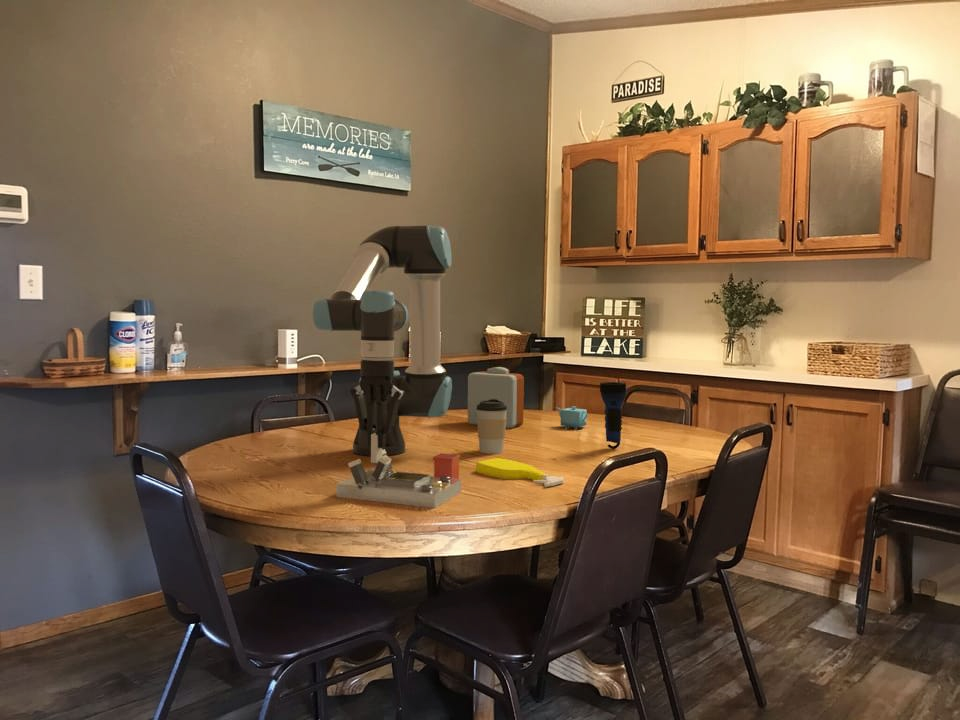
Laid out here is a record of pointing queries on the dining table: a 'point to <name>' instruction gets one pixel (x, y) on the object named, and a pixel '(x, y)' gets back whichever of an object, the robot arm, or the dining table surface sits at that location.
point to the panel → (401, 489)
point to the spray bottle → (515, 471)
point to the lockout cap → (446, 465)
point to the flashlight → (613, 410)
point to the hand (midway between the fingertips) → (376, 461)
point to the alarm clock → (497, 393)
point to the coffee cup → (491, 426)
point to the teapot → (573, 417)
